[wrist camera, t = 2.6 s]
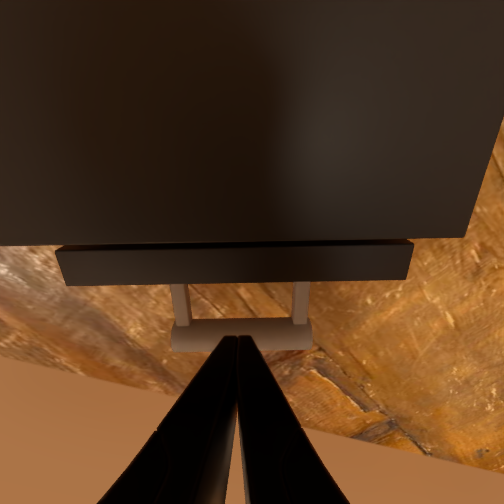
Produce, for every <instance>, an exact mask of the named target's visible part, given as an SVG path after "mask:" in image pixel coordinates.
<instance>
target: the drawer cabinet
mask: <svg viewBox="0 0 504 504" xmlns="http://www.w3.org/2000/svg"><path fill="white" fill-rule="evenodd" d="M503 117H504V0H0V246H40V245H94V244H148V243H202V242H255V241H309V240H363V239H417V238H463V237H464V236H465V234H466V231H467V228H468V225H469V221H470V218H471V215H472V212H473V209H474V206H475V203H476V200H477V197H478V194H479V191H480V188H481V185H482V181H483V178H484V175H485V172H486V169H487V166H488V163H489V160H490V157H491V154H492V151H493V148H494V145H495V142H496V138H497V135H498V132H499V129H500V126H501V123H502V120H503Z"/></svg>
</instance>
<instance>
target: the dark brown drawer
mask: <svg viewBox="0 0 504 504" xmlns="http://www.w3.org/2000/svg"><path fill="white" fill-rule="evenodd" d="M413 249H414V244H413V243H412V242H410V241H409V240H407V239H363V240H309V241H255V242H202V243H148V244H94V245H64V246H62V247H61V248H59V249H57V250H55V255H56V257H57V260H58V263H59V266H60V269H61V272H62V275H63V278H64V281H65V283H66V286H103V285H157V284H170V290H171V296H172V302H173V308H174V314H175V321H174V324H173V327H172V332H171V346H172V350H173V351H174V352H212V351H213V350H214V349H215V347H216V346H217V344H218V343H219V342H220V340H221V339H222V338H223V336H225V335H236V336H237V338H238V336H239V335H251V336H252V338H253V340H254V341H255V343H256V345H257V347H258V349H259V350H260V351H267V350H310V349H311V348H312V342H313V335H312V326H311V322H310V319H309V318H308V305H309V293H310V282H318V281H372V280H406V277H407V273H408V269H409V265H410V261H411V257H412V253H413ZM264 282H293V296H292V317H277V318H223V319H192V312H191V304H190V297H189V289H188V284H210V283H264Z"/></svg>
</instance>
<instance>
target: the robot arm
mask: <svg viewBox="0 0 504 504" xmlns="http://www.w3.org/2000/svg"><path fill="white" fill-rule="evenodd" d="M237 408H238V424H239V435H240V446H241V456H242V466H243V467H242V468H243V478H244V490H245V501H246V504H350V503H349V501H348V500H347V498H346V497H345V495H344V494H343V493H342V491H341V490H340V488H339V487H338V485H337V484H336V482H335V481H334V479H333V478H332V476H331V475H330V473H329V472H328V470H327V469H326V467H325V466H324V464H323V463H322V461H321V459H320V457H319V456H318V454H317V452H316V451H315V449H314V447H313V446H312V444H311V442H310V441H309V439H308V437H307V435H306V433H305V431H304V430H303V428H301V424H300V423H299V421H298V419H297V417H296V415H295V414H294V412H293V410H292V408H291V406H290V405H289V403H288V401H287V399H286V397H285V396H284V394H283V392H282V390H281V388H280V387H279V385H278V383H277V381H276V379H275V378H274V376H273V374H272V372H271V370H270V369H269V367H268V365H267V363H266V361H265V359H264V358H263V356H262V354H261V352H260V350H259V349H258V347H257V345H256V343H255V341H254V340H253V338H252V336H251V335H239V336H238V338H237V336H236V335H225V336H223V338H222V339H221V340H220V342H219V343H218V344H217V346H216V347H215V349H214V350H213V351H212V353H211V354H210V355H209V357H208V358H207V360H206V361H205V362H204V364H203V365H202V366H201V368H200V369H199V371H198V372H197V373H196V375H195V376H194V378H193V379H192V380H191V382H190V383H189V384H188V386H187V387H186V389H185V390H184V391H183V393H182V394H181V395H180V397H179V398H178V400H177V401H176V403H175V404H174V405H173V406H172V408H171V409H170V411H169V412H168V413H167V415H166V416H165V417H164V419H163V420H162V422H161V423H160V424H159V426H158V427H157V431H154V433H153V434H152V435H151V437H150V438H149V439H148V441H147V442H146V443H145V445H144V446H143V447H142V449H141V450H140V452H139V453H138V454H137V455H136V457H135V458H134V459H133V461H132V462H131V463H130V465H129V466H128V467H127V468H126V470H125V471H124V472H123V473H122V474H121V476H120V477H119V478H118V479H117V480H116V482H115V483H114V484H113V485H112V486H111V488H110V489H109V490H108V491H107V492H106V493H105V495H104V496H103V497H102V498H101V499H100V500H99V502H98V503H97V504H225V498H226V490H227V484H228V477H229V469H230V462H231V454H232V448H233V440H234V433H235V425H236V418H237Z"/></svg>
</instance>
